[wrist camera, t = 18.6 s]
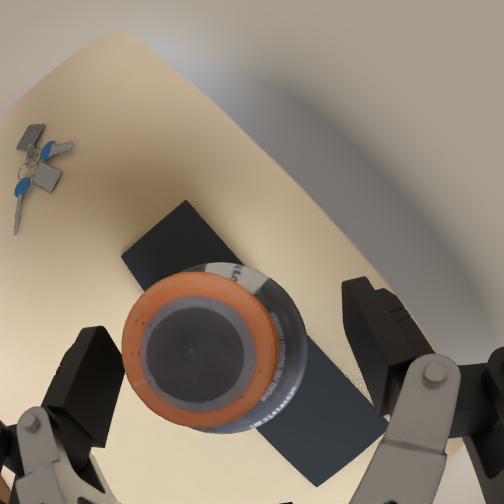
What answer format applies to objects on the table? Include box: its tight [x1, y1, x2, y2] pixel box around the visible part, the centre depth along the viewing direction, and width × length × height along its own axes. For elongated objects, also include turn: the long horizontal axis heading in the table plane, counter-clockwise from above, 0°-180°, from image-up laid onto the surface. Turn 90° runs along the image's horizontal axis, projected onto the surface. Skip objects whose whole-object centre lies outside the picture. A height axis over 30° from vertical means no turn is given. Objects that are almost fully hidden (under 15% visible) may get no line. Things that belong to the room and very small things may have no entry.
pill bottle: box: [122, 262, 308, 434], centre depth 12 cm, size 6×6×11 cm
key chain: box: [14, 124, 74, 236], centre depth 24 cm, size 14×8×1 cm, turn 23°
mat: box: [121, 200, 389, 487], centre depth 18 cm, size 20×6×1 cm, turn 41°
